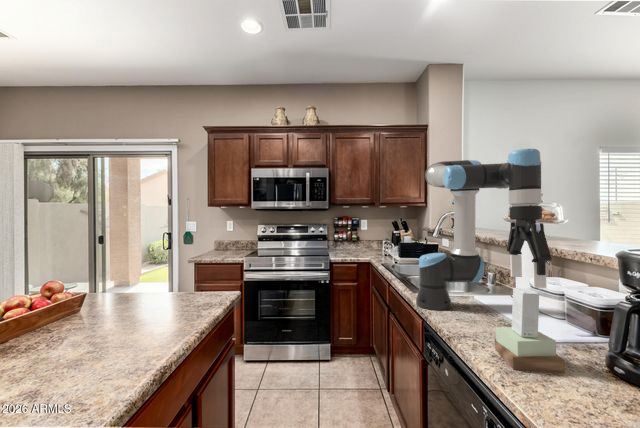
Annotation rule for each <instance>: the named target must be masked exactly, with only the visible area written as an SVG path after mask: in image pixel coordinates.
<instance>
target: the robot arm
mask: <svg viewBox="0 0 640 428" xmlns="http://www.w3.org/2000/svg"><path fill="white" fill-rule="evenodd" d="M424 179H425V181H426V183H427V184H429V185H430V186H431V187H436V188H442V189H443V188H444V189H448V190H449V191H450V193H451V194H452V195H453V221H454V222H453V249H451V250H450V255H449V256H448V255H447V254H446V253H444V252H432V253H426V254H422V255H420V257H419V259H418V260H419V261H418V268H419V269H418V272H419V273H418V275H419V276H418V278H419V289H418V292H417V295H416V298H415V305H416V307H420V308H421V309H426V310H430V311H431V310H432V311H444V310H449V309H452V300H451V297H450V294H449V291H448V287H447V286H448V285H447V284H448V283H467V284H471V283H479V282H480V281H481V280H482V279H483V277H484V274H485V268H486V267H485V266H486V265H485V260H484V258H483V257H482V256H480V252H479V251H478V250H477V249H476V195H477V194H478V193H479V192H480V189H508V205H510V207H509V208H508V209H509V219H510V220H512V221H511V222H510V231H509V234H508V240H507V244H506V245H507V246H506V252H509V256H510V257H509V258H510V259H509V260H510V277H511V278H513V277H514V278H522V277H523V265H522V261H523V260H522V254H523V253H522V252H523V251H522V249H523V245H525V242H527V244H528V248H529V250H530V252H531V254H532V258H533V259H531V262H532V287H533V288H535V289H536V288H540V289H541V288H542V289H546V288H547V263H548V262H551V261H552V255H551V252H550V251H551V250H550V248H549V244H548V241H547V238H546V234H545V229H544V228H545V227H544V223H537V222H536V221H537V220H542V218H543V207H542V206H541V204H542V197H543V196H544V194H543V192H542V161H541V152H540V150H539V149H536V148H520V149H516V150H515V149H514V150H512V151H510V152H509V153H508V157H507V162H503V163H485V164H484V163H481V162H480V161H479V160H475V159H474V160H473V159H472V160H471V159H465V160H450V161H449V160H447V161H444V160H443V161H439V162H436V163H432V164H431V165H430V166H428V167H427V169H426V170H425V172H424ZM513 220H514V221H513Z"/></svg>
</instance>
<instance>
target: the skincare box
mask: <svg viewBox="0 0 640 428" xmlns="http://www.w3.org/2000/svg"><path fill="white" fill-rule="evenodd" d="M511 309H512V310H511V312H512V313H511V327H512V329H513V330H514V331H515V332H517V333H518V334H519V335H520V336H522V337H532V338H538V331H539V318H540V317H539V315H540V313H539V311H540V294H539V293H537V292H535V291H533V290H531V289H529V288H519V287H513V288H512V308H511Z"/></svg>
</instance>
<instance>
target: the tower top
mask: <svg viewBox="0 0 640 428" xmlns="http://www.w3.org/2000/svg"><path fill="white" fill-rule="evenodd" d="M495 339H496V341H497V342H499V343H500V344H501V345H503V346H504V347H505V348H507V349H508V350H510V351H511V352H512V353H514V354H515V355H516V356H518V357H520V356H556V354H557V342H556V340H555V339H553V338H551V337H549V336H548V335H546V334H544V333H542V332H540V331H539V330H538V338H532V337H522V336H520V335H519V334H518V333H517V332H515V331H514V330H513V329H512V326H507V327H506V326H504V327H502V326H501V327H500V326H498V327H495Z"/></svg>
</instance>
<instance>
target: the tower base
mask: <svg viewBox="0 0 640 428" xmlns="http://www.w3.org/2000/svg"><path fill="white" fill-rule="evenodd" d="M494 351H496V353H497V352H498V355H499V356H500V357H501V358H502V359H503V361H505V363H506V364H508V366H509V367H510V368H511V369H512V370H513V371H525V372H541V373H542V372H544V373H555V374H556V373H559V374H560V373H561V374H565V370H566V369H565V359H564V358H563V357H561V356H560V355H558V354H557V353H556V356H520V357H518V356H516V355H515V354H514V353H512V352H511V351H510V350H508V349H507V348H505V347H504V346H503V345H501V344H500V343H499V342H497V341H496V338H494Z"/></svg>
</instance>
